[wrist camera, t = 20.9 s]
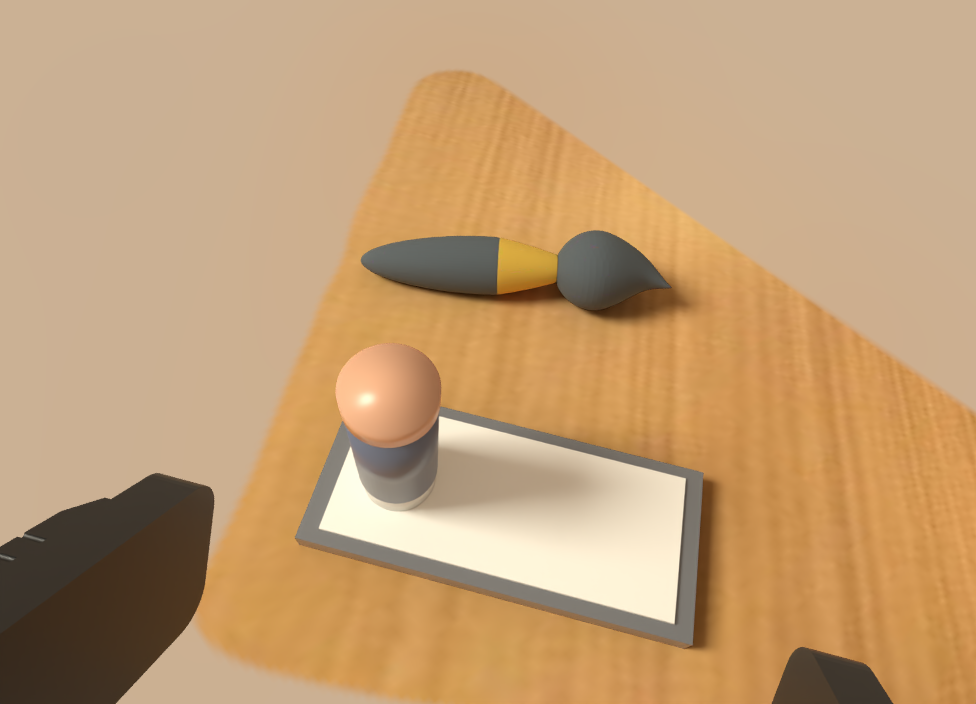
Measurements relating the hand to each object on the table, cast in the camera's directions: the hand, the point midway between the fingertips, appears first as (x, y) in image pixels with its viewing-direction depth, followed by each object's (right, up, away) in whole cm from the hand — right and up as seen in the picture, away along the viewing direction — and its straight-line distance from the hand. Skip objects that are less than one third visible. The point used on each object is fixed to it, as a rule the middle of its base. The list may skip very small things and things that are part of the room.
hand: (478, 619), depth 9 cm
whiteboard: (+1, -5, +26) cm, 26 cm away
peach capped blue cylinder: (-5, -3, +25) cm, 26 cm away
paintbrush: (+2, +7, +34) cm, 35 cm away
